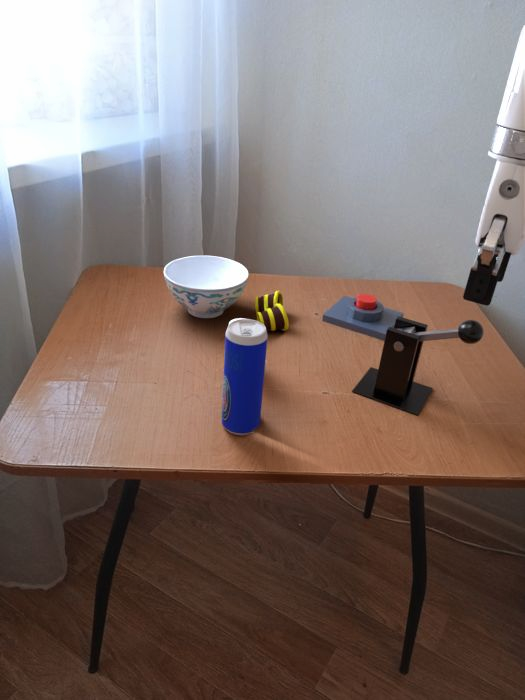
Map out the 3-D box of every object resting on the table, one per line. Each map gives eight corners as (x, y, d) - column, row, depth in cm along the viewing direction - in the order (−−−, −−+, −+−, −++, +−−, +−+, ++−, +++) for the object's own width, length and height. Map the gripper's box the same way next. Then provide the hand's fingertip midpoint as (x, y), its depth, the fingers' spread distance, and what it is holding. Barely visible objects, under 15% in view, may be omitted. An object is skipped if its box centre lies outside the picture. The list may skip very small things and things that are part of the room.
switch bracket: (431, 394, 85) (450, 326, 79) (416, 421, 79) (435, 350, 73) (369, 372, 89) (383, 306, 83) (350, 397, 83) (364, 327, 77)
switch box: (401, 323, 105) (405, 304, 103) (384, 345, 97) (388, 325, 95) (342, 305, 110) (345, 286, 108) (321, 325, 102) (324, 305, 100)
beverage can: (223, 411, 78) (227, 316, 70) (260, 414, 78) (268, 319, 70) (219, 435, 73) (223, 336, 66) (258, 438, 73) (267, 339, 66)
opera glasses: (256, 313, 106) (252, 290, 103) (283, 309, 106) (281, 285, 103) (260, 339, 97) (256, 314, 95) (290, 335, 97) (287, 310, 95)
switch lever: (487, 336, 75) (483, 314, 74) (483, 346, 72) (478, 324, 71) (401, 344, 82) (396, 324, 81) (394, 353, 79) (389, 333, 78)
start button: (378, 306, 102) (379, 297, 101) (371, 313, 100) (373, 304, 99) (359, 300, 104) (361, 292, 103) (352, 307, 101) (353, 298, 100)
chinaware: (168, 331, 96) (167, 290, 92) (161, 293, 108) (160, 256, 104) (253, 327, 99) (256, 287, 95) (237, 291, 112) (239, 254, 108)
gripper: (555, 164, 54) (502, 324, 63) (569, 141, 67) (523, 275, 76) (476, 151, 57) (436, 306, 66) (504, 131, 70) (468, 262, 79)
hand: (483, 289), depth 71 cm, fingers open, 8 cm apart
